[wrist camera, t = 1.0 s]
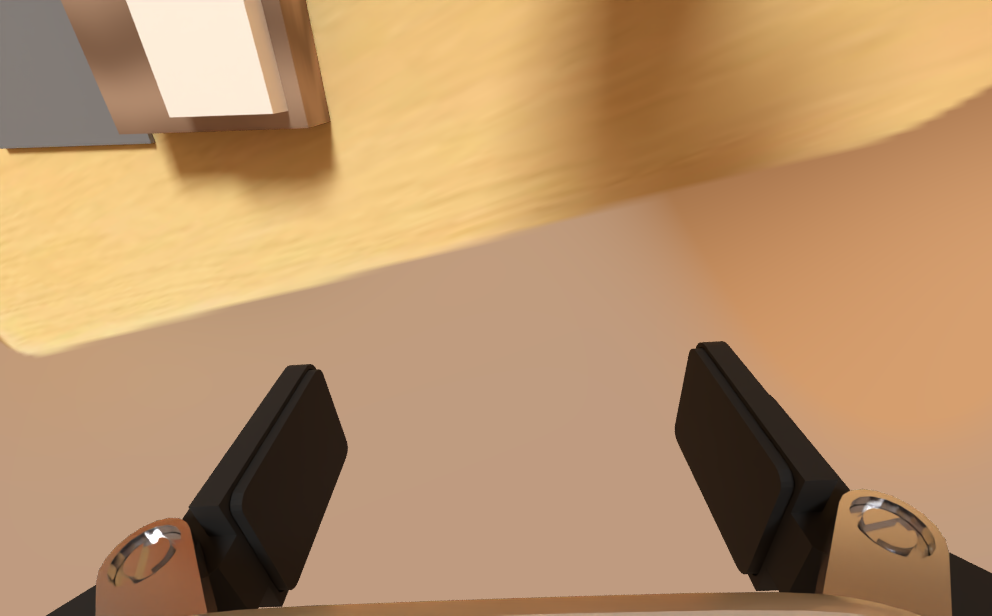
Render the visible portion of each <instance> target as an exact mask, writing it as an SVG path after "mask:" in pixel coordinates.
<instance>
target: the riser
mask: <svg viewBox="0 0 992 616" xmlns="http://www.w3.org/2000/svg"><path fill="white" fill-rule="evenodd" d="M61 2H62V4H63V7H64V9H65V11H66V14H67V16H68V18H69V20H70V23H71V25H72V27H73V30H74V32H75V34H76V36H77V39H78V41H79V43H80V46H81V48H82V50H83V52H84V55H85V57H86V59H87V62H88V64H89V66H90V69H91V71H92V73H93V75H94V78H95V80H96V82H97V85H98V87H99V89H100V91H101V94H102V96H103V98H104V101H105V103H106V105H107V107H108V110H109V112H110V114H111V117H112V119H113V121H114V123H115V126H116V128H117V130H118V133H119V135H120V134H149V133H178V132H207V131H236V130H265V129H294V128H310V127H313V126H317V125H320V124H323V123H327V122H330V117H329V112H328V107H327V103H326V98H325V93H324V88H323V83H322V78H321V73H320V68H319V64H318V59H317V54H316V49H315V44H314V39H313V34H312V30H311V25H310V20H309V15H308V10H307V5H306V0H261V3H262V7H263V11H264V15H265V19H266V23H267V27H268V31H269V35H270V39H271V43H272V47H273V51H274V55H275V59H276V63H277V68H278V72H279V76H280V80H281V84H282V88H283V92H284V96H285V100H286V104H287V108H288V111H285V112H280V113H275V114H253V115H225V116H196V117H169V114H168V111H167V109H166V106H165V103H164V101H163V98H162V95H161V93H160V90H159V87H158V85H157V82H156V79H155V77H154V74H153V71H152V69H151V66H150V63H149V61H148V58H147V55H146V53H145V50H144V47H143V45H142V42H141V39H140V37H139V34H138V31H137V29H136V26H135V23H134V21H133V18H132V15H131V13H130V10H129V7H128V5H127V2H126V0H61Z"/></svg>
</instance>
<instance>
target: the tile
mask: <svg viewBox="0 0 992 616" xmlns="http://www.w3.org/2000/svg"><path fill="white" fill-rule="evenodd" d="M126 2H127V5H128V7H129V10H130V13H131V15H132V18H133V21H134V23H135V26H136V29H137V31H138V34H139V37H140V39H141V42H142V45H143V47H144V50H145V53H146V55H147V58H148V61H149V63H150V66H151V69H152V71H153V74H154V77H155V79H156V82H157V85H158V87H159V90H160V93H161V95H162V98H163V101H164V103H165V106H166V109H167V111H168V114H169V117H196V116H225V115H253V114H275V113H280V112H285V111H288V108H287V104H286V100H285V96H284V92H283V88H282V84H281V80H280V76H279V72H278V68H277V63H276V59H275V55H274V51H273V47H272V43H271V39H270V35H269V31H268V27H267V23H266V19H265V15H264V11H263V7H262V3H261V0H126Z"/></svg>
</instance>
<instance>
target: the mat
mask: <svg viewBox="0 0 992 616" xmlns="http://www.w3.org/2000/svg"><path fill="white" fill-rule="evenodd" d="M150 143H155V141H154V138H153V136H152V133H149V134H120V135H119V133H118V130H117V128H116V126H115V123H114V121H113V119H112V117H111V114H110V112H109V110H108V107H107V105H106V103H105V101H104V98H103V96H102V94H101V91H100V89H99V87H98V85H97V82H96V80H95V78H94V75H93V73H92V71H91V69H90V66H89V64H88V62H87V59H86V57H85V55H84V52H83V50H82V48H81V46H80V43H79V41H78V39H77V36H76V34H75V32H74V30H73V27H72V25H71V23H70V20H69V18H68V16H67V14H66V11H65V9H64V7H63V4H62V2H61V0H0V149H3V148H33V147H62V146H91V145H120V144H150Z"/></svg>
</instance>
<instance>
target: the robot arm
mask: <svg viewBox="0 0 992 616" xmlns="http://www.w3.org/2000/svg"><path fill="white" fill-rule="evenodd" d="M675 435H676V439H677V442H678V444H679V446H680V448H681V450H682V452H683V455H684V457H685V459H686V461H687V463H688V465H689V467H690V469H691V471H692V474H693V476H694V478H695V480H696V482H697V484H698V486H699V488H700V490H701V492H702V494H703V496H704V499H705V501H706V503H707V505H708V507H709V509H710V511H711V513H712V516H713V518H714V520H715V522H716V524H717V526H718V528H719V530H720V532H721V534H722V537H723V539H724V541H725V543H726V545H727V547H728V549H729V551H730V553H731V555H732V558H733V560H734V562H735V564H736V566H737V568H738V569H739V571H740V572H741V573H743V574H748V575H749V577H750V579H751V582H752V584H753V586H754V588H755V589H756V591H769V590H779V592H745V593H679V594H678V593H677V594H644V595H643V594H641V595H608V596H607V595H605V596H571V597H541V598H540V597H538V598H508V599H477V600H451V601H450V600H448V601H420V602H396V603H395V602H394V603H367V604H343V605H316V606H299V607H298V606H297V607H282V605H283V603H284V600H285V598H286V595H287V593H288V590H292V589H293V588H295V586H296V585H297V583H298V581H299V578H300V575H301V573H302V570H303V568H304V565H305V562H306V560H307V557H308V555H309V552H310V550H311V547H312V544H313V542H314V539H315V537H316V534H317V531H318V529H319V526H320V524H321V521H322V518H323V516H324V513H325V511H326V508H327V506H328V503H329V500H330V498H331V495H332V493H333V490H334V487H335V485H336V482H337V480H338V477H339V474H340V472H341V469H342V467H343V464H344V462H345V459H346V456H347V451H348V446H347V441H346V438H345V435H344V432H343V429H342V427H341V424H340V421H339V418H338V415H337V412H336V409H335V407H334V404H333V401H332V398H331V395H330V392H329V389H328V387H327V384H326V381H325V378H324V375H323V373H322V371H321V370H316V368H315V367H314V366H313V365H311V364H306V365H290V366H287V367H286V368H285V370H284V371H283V373H282V374H281V375H280V377H279V378H278V380H277V381H276V383H275V384H274V385H273V387H272V388H271V390H270V391H269V393H268V394H267V395H266V397H265V398H264V400H263V401H262V403H261V404H260V406H259V407H258V408H257V410H256V411H255V413H254V414H253V416H252V417H251V418H250V420H249V421H248V423H247V424H246V425H245V427H244V428H243V430H242V431H241V433H240V434H239V435H238V437H237V439H236V440H235V441H234V443H233V444H232V445H231V447H230V448H229V450H228V451H227V453H226V454H225V455H224V457H223V458H222V460H221V461H220V463H219V464H218V466H217V467H216V468H215V470H214V471H213V473H212V474H211V476H210V477H209V479H208V480H207V481H206V483H205V484H204V486H203V487H202V488H201V490H200V491H199V493H198V494H197V496H196V497H195V498H194V500H193V501H192V503H191V504H190V506H189V510H188V512H187V513H186V515H185V516H184V517H183V519H180V518H166V519H162V520H157V521H155V522H152V523H150V524H148V525H146V526H143V527H142V528H140V529H138V530H137V531H136V532H134V533H132V534H130V535H129V536H128V537H127V538H125V539H124V540H123V541H122V542H121V543H119V544H118V545H117V546H116V547H115V548H114V549H113V550H112V552H111V553H110V554H109V555H108V556H107V558H106V559H105V560H104V562H103V564H102V566H101V567H100V569H99V571H98V575H97V580H96V585H95V586H93V587H92V588H90V589H88V590H87V591H85V592H84V593H82V594H80V595H79V596H77V597H76V598H74V599H72V600H71V601H69V602H67V603H66V604H64V605H63V606H61V607H59V608H58V609H56V610H55V611H53V612H51V613H50V614H48V615H46V616H992V573H990V572H988V571H986V570H984V569H982V568H980V567H978V566H976V565H973V564H972V563H969V562H968V561H966V560H964V559H962V558H960V557H957V556H956V555H953V554H951V553H949V550H948V546H947V543H946V539H945V538H944V536H943V535H942V533H941V532H940V531H939V529H938V528H937V526H936V525H935V524H934V523H933V522H932V521H930V520H929V519H928V518H927V517H926V516H925V515H924V514H923V513H921V512H920V511H918V510H917V509H916V508H914V507H913V506H911V505H910V504H908V503H906V502H904V501H902V500H900V499H898V498H896V497H894V496H892V495H888V494H885V493H882V492H879V491H874V490H867V489H858V490H851V491H850V490H849V488H848V487H847V486H846V485H845V483H844V482H843V481H842V480H841V479H840V477H839V476H838V475H837V474H836V473H835V471H834V470H833V469H832V468H831V467H830V465H829V464H828V463H827V462H826V461H825V459H824V458H823V457H822V456H821V454H819V452H818V451H817V450H816V448H815V447H814V446H813V445H812V444H811V442H810V441H809V440H808V439H807V438H806V436H805V435H804V434H803V433H802V431H801V430H800V429H799V428H798V427H797V426H796V424H795V423H794V422H793V421H792V419H791V418H790V417H789V416H788V415H787V413H786V412H785V411H784V410H783V409H782V407H781V406H780V405H779V404H778V403H777V401H776V400H775V399H774V398H773V397H772V396H771V395H769V394H768V393H767V392H766V390H765V389H764V388H763V387H762V385H761V384H760V383H759V382H758V381H757V379H756V378H755V377H754V376H753V374H752V373H751V372H750V371H749V370H748V369H747V367H746V366H745V365H744V364H743V362H742V361H741V360H740V359H739V358H738V356H737V355H736V354H735V353H734V351H733V350H732V349H731V348H730V346H728V344H727V343H725V342H723V341H720V342H703V343H698V345H697V346H696V349H691V350H690V352H689V356H688V361H687V367H686V372H685V377H684V382H683V387H682V392H681V398H680V402H679V408H678V413H677V418H676V423H675ZM259 607H281V608H264V609H263V608H262V609H258V608H259Z"/></svg>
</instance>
